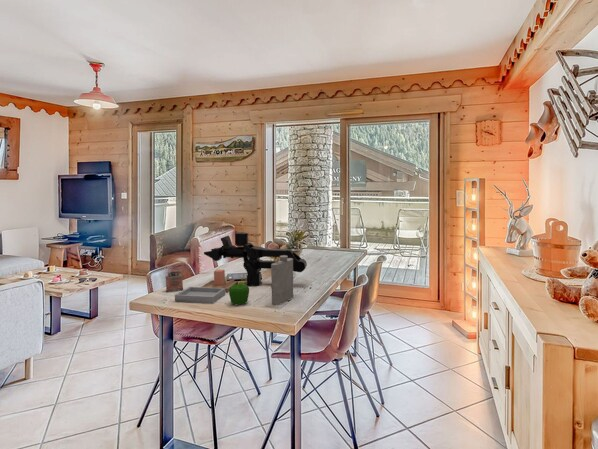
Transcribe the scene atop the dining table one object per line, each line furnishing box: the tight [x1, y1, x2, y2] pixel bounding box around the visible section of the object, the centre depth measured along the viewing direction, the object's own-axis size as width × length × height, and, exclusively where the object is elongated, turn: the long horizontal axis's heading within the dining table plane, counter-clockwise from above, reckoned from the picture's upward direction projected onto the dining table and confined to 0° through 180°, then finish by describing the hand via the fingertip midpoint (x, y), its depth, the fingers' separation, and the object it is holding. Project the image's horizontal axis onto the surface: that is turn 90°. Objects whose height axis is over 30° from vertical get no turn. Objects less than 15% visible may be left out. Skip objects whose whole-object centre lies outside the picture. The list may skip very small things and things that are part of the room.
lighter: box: [165, 269, 184, 293], centre depth 176 cm, size 8×3×10 cm, turn 118°
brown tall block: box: [213, 269, 226, 286], centre depth 181 cm, size 4×4×9 cm
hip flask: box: [270, 255, 294, 306], centre depth 160 cm, size 16×4×20 cm, turn 152°
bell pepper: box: [228, 280, 250, 306], centre depth 156 cm, size 8×8×10 cm
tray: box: [174, 286, 226, 305], centre depth 165 cm, size 18×14×3 cm
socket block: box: [201, 279, 239, 294], centre depth 181 cm, size 14×14×2 cm
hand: (207, 251), depth 191 cm, fingers open, 9 cm apart
